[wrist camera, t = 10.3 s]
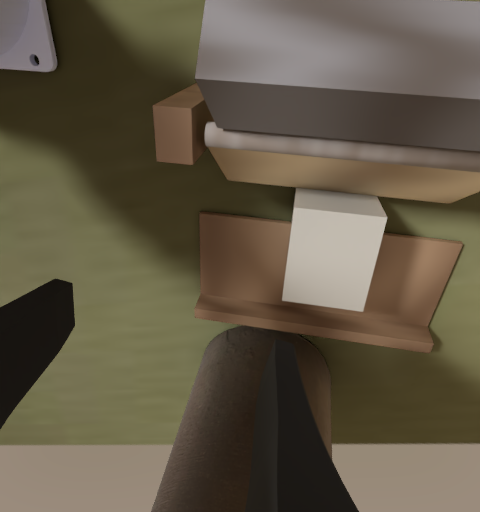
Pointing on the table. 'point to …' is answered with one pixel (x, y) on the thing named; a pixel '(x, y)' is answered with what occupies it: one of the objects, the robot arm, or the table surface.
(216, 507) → the pillar candle
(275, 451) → the robot arm
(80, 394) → the table surface
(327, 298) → the stone block
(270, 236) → the frame
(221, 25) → the trapdoor
